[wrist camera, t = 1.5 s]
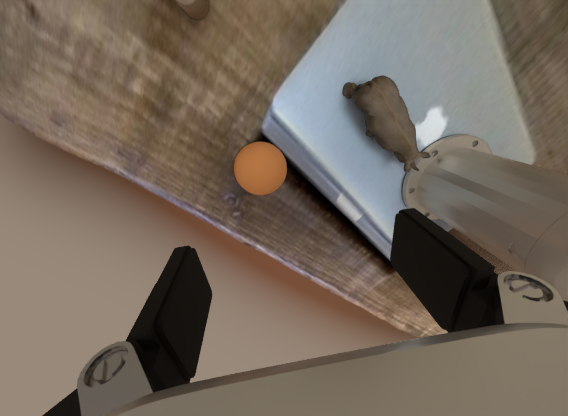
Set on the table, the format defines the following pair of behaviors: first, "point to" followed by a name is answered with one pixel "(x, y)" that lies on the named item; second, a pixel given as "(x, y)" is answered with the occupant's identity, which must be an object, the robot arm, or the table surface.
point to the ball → (260, 168)
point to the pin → (195, 8)
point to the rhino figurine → (387, 118)
